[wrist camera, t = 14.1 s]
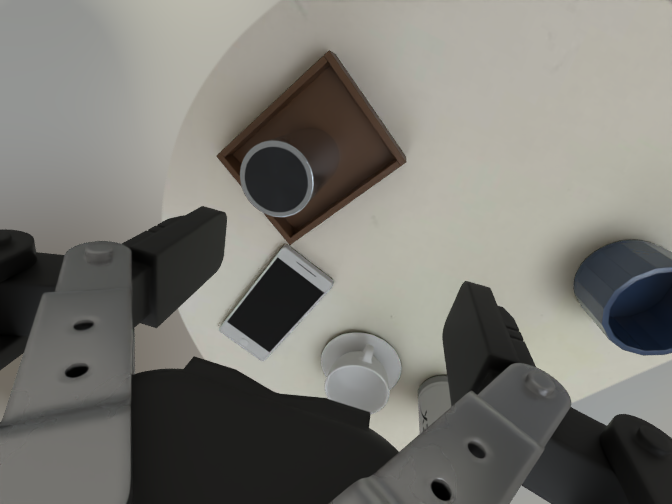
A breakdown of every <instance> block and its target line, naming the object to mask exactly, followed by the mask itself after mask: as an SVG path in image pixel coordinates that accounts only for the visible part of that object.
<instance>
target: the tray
mask: <svg viewBox="0 0 672 504" xmlns="http://www.w3.org/2000/svg"><path fill="white" fill-rule="evenodd" d="M310 127H311V128H318V129H321V130H323V131H325V132H327V133H328V134H329V135H330V136H331V137H332V138H333V139H334V141H335V142H336V144H337V147H338V150H339V156H340V159H339V165H338V168H337V170H336V172H335V174H334V175H333V176H332V177H331V178H330V179H329V181H328V182H327V183H326V184H325V185H324V186H323V187H322V188H321V190H320V191H319V192H318V193H317V194H316V195H315V196H314V197H313V199H312V200H311V201H310V202H309V203H308V204H307V205H306V206H305V207H304V208H303V209H302V210H301V211H300V212H298V213H296V214H294V215H291V216H288V217H274V216H270V215H267V214H265V213H264V214H265V216H266V217H267V218H268V219H269V220H270V222H271V223H272V224H273V225H274V226H275V228H276V229H277V230H278V231H279V232H280V234H281V235H282V236H283V237H284V239H285V240H286V241H287V242H288V243H289V245H291V244H292V243H294V242H295V241H296V240H298V239H299V238H301V237H302V236H303V235H305V234H306V233H308V232H309V231H310V230H312V229H313V228H315V227H316V226H317V225H319V224H320V223H322V222H323V221H324V220H326V219H327V218H329V217H330V216H331V215H333V214H334V213H336V212H337V211H338V210H340V209H341V208H343V207H344V206H345V205H347V204H348V203H350V202H351V201H352V200H354V199H355V198H357V197H358V196H360V195H361V194H362V193H364V192H365V191H367V190H368V189H369V188H371V187H372V186H374V185H375V184H376V183H378V182H379V181H381V180H382V179H383V178H385V177H386V176H388V175H389V174H390V173H392V172H393V171H395V170H396V169H397V168H399V167H400V166H402V165H403V164H404V163H406V156H405V154H404V153H403V152H402V150H401V149H400V147H399V146H398V144H397V143H396V141H395V140H394V138H393V137H392V136H391V134H390V133H389V131H388V130H387V128H386V127H385V125H384V124H383V123H382V121H381V120H380V118H379V117H378V115H377V114H376V112H375V111H374V109H373V108H372V107H371V105H370V104H369V102H368V101H367V99H366V98H365V96H364V95H363V93H362V92H361V91H360V89H359V88H358V86H357V85H356V83H355V82H354V80H353V79H352V77H351V76H350V75H349V73H348V72H347V70H346V69H345V67H344V66H343V64H342V63H341V62H340V60H339V59H338V57H337V56H336V54H334V53H333V52H331V51H328V52H327V53H326V54H325V55H324V56H322V57H321V58H320V59H319V60H318V61H317V62H316V63H315V64H314V65H313V66H312V67H311V68H310V69H309V70H308V71H306V72H305V73H304V74H303V75H302V76H301V77H300V78H299V79H298V80H297V81H296V82H295V83H294V84H293V85H292V86H290V87H289V88H288V89H287V90H286V91H285V92H284V93H283V94H282V95H281V96H280V97H279V98H278V99H277V100H275V101H274V102H273V103H272V104H271V105H270V106H269V107H268V108H267V109H266V110H265V111H264V112H263V113H262V114H261V115H259V116H258V117H257V118H256V119H255V120H254V121H253V122H252V123H251V124H250V125H249V126H248V127H247V128H246V129H244V130H243V131H242V132H241V133H240V134H239V135H238V136H237V137H236V138H235V139H234V140H233V141H232V142H231V143H230V144H228V145H227V146H226V147H225V148H224V149H223V150H222V151H221V152H220V153H219V154H218V155H217V158H218V159H219V160H220V161H221V162H222V164H223V165H224V166H225V167H226V168H227V170H228V171H229V172H230V173H231V174H232V176H233V177H234V178H235V179H236V180H237V182H238V183H239V184H240V185H241V181H240V169H241V164H242V161H243V159H244V157H245V155H246V154H247V153H248V151H249V150H250V149H251V148H253V147H254V146H255V145H257V144H259V143H261V142H264V141H267V140H270V139H273V138H276V137H279V136H282V135H285V134H289V133H292V132H295V131H298V130H301V129H304V128H310ZM241 187H242V186H241Z"/></svg>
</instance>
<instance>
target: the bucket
mask: <svg viewBox="0 0 672 504" xmlns="http://www.w3.org/2000/svg"><path fill="white" fill-rule="evenodd" d="M574 293H575V296H576V298H577V300H578V302H579V303H580V304H581V306H582V308H583V309H584V310H585V311H586V313H587V314H588V315H589V316H590V317H591V319H592V320H593V321H594V322H595V323H596V325H597V326H598V327H599V328H600V329H601V330H602V332H603V333H604V334H605V335H606V336H607V338H608V339H609V340H610V341H612V342H613V343H614V344H616V345H617V346H618V347H620V348H621V349H623V350H625V351H629V352H633V353H636V354H640V355H665V354H669V353H672V252H670V251H668V250H667V249H665V248H663V247H662V246H659V245H656V244H654V243H651V242H648V241H643V240H624V241H618V242H614V243H611V244H609V245H606V246H604V247H602V248H600V249H598V250H597V251H595V252H594V253H592V254H591V255H590V256H589V257H588V258H587V259H585V261H584V262H583V263H582V264H581V266H580V267H579V269H578V271H577V273H576V275H575V279H574Z"/></svg>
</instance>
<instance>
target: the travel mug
mask: <svg viewBox="0 0 672 504" xmlns="http://www.w3.org/2000/svg"><path fill="white" fill-rule="evenodd" d="M418 407H419V429H420V434H421V433H422V432H423V431H424V430H425V429H426V428H428V427H429V426H430V425H431V424H432V423H433V422H435V421H436V420H437V419H438V418H439V417H440V416H441V415H443V414H444V413H445V412H446V411H447V410H448V409H450V408H451V400H450V393H449V385H448V377H447V376H435V377H432V378H430V379H428V380H426V381H425V382H423V384H422V385H421V386H420V388H419V390H418Z"/></svg>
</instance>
